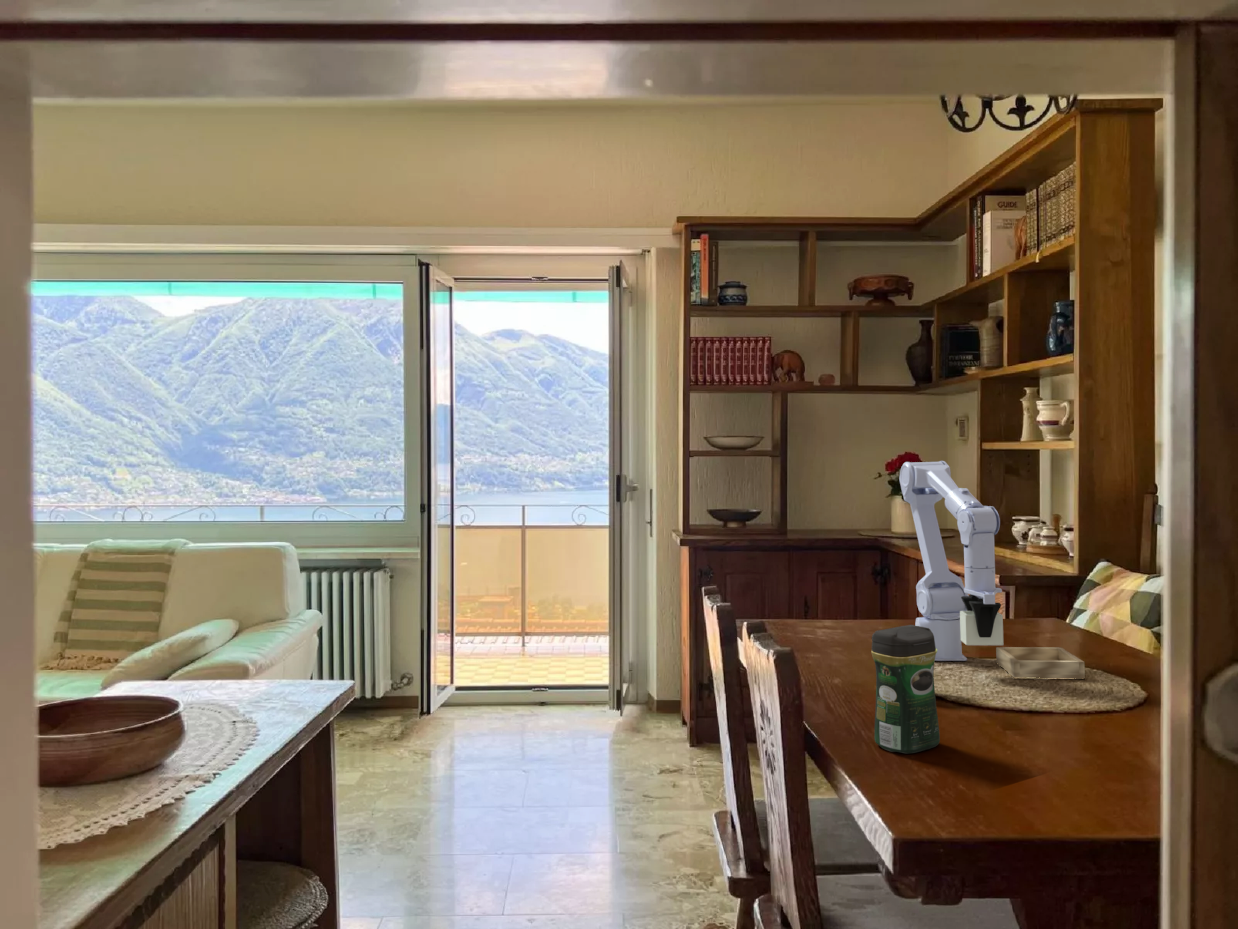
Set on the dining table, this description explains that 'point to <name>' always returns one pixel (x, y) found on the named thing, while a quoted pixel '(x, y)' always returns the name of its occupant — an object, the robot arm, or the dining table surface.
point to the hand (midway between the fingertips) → (981, 634)
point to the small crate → (971, 634)
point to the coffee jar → (905, 689)
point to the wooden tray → (1040, 662)
